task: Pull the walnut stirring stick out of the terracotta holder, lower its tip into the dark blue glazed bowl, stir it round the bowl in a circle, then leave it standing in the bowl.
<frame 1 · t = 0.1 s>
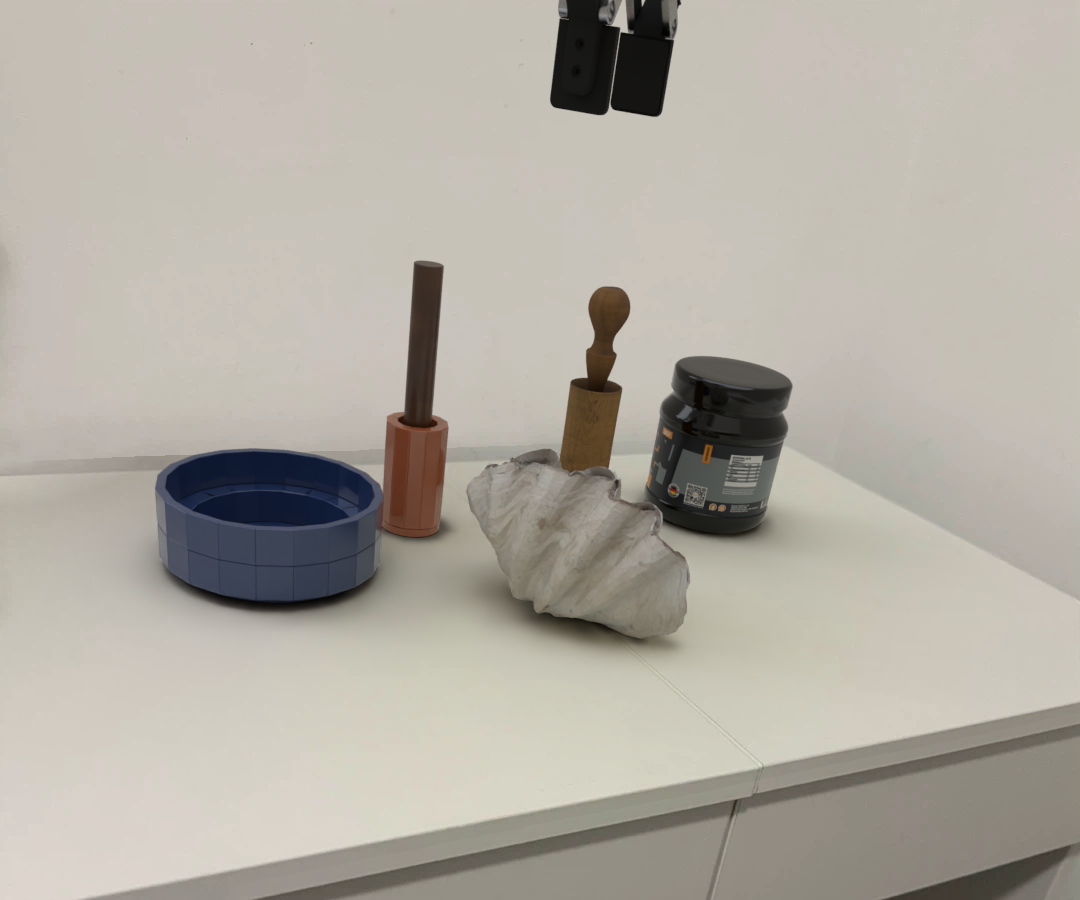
hand: (608, 112, 61), 29 cm above the table, tool pointing down, fingers open, 9 cm apart
bowl: (272, 563, 71), on the table
supplement container: (701, 515, 91), on the table
holder: (410, 525, 80), on the table
stick: (410, 517, 80), point 1 cm above the table, touching holder
mortar and pestle: (574, 526, 85), on the table
seashell: (563, 613, 71), on the table
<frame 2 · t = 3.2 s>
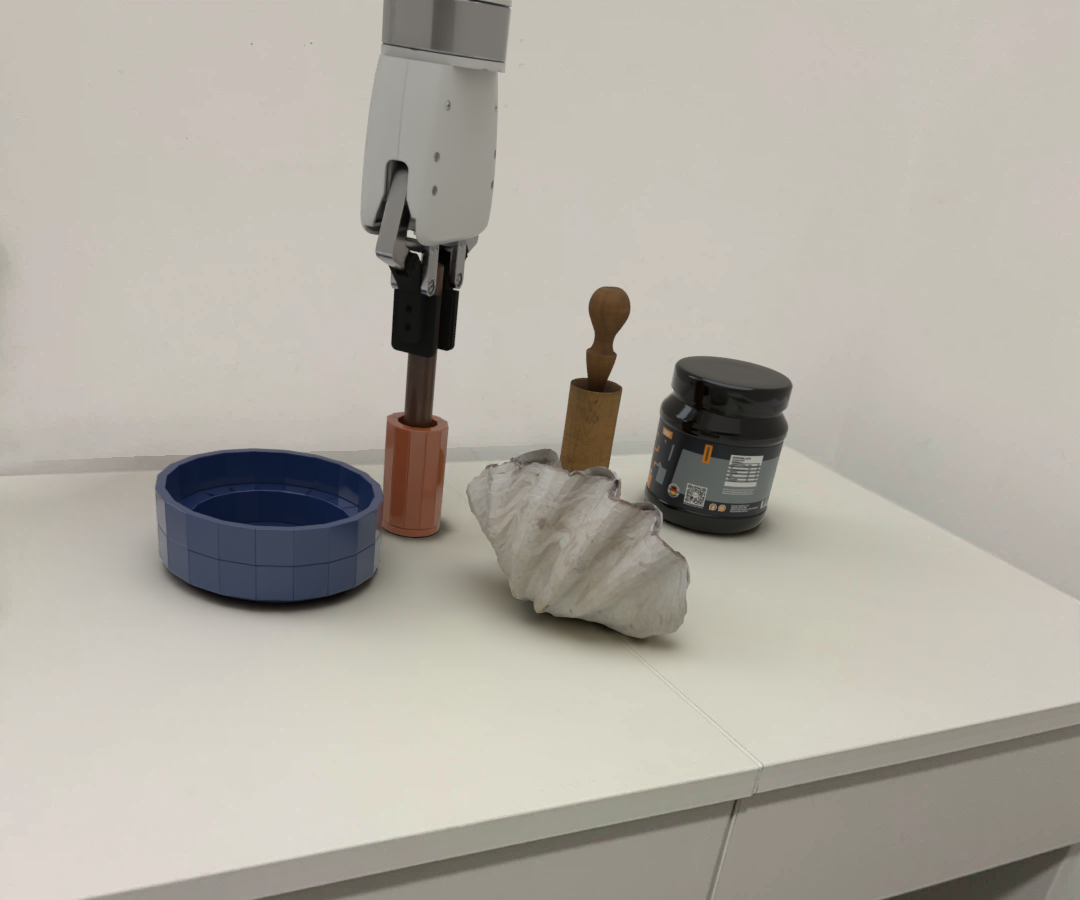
hand: (422, 347, 73), 13 cm above the table, tool pointing down, fingers closed on stick, 2 cm apart
stick: (410, 517, 80), point 1 cm above the table, touching gripper, holder
everything else where it was.
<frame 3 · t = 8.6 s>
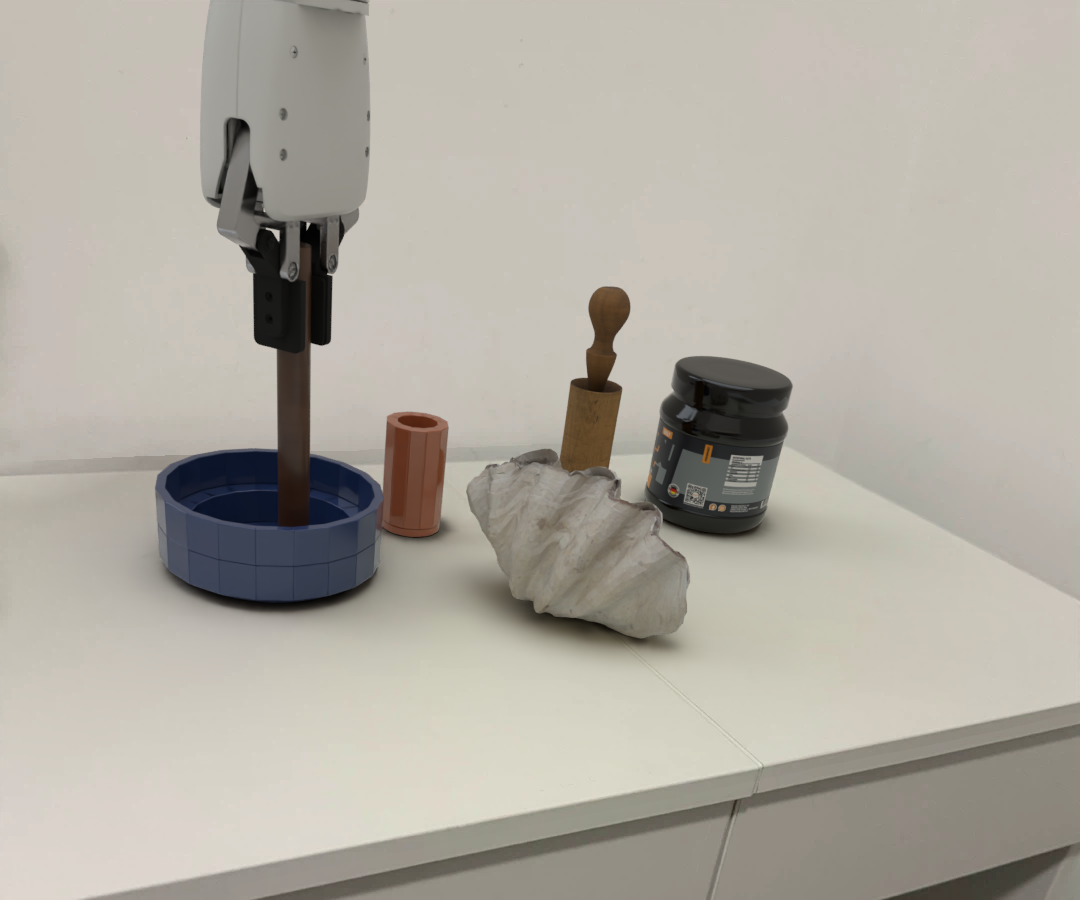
hand: (292, 341, 63), 15 cm above the table, tool pointing down, fingers closed on stick, 2 cm apart
stick: (294, 537, 70), point 2 cm above the table, touching gripper
everything else where it was.
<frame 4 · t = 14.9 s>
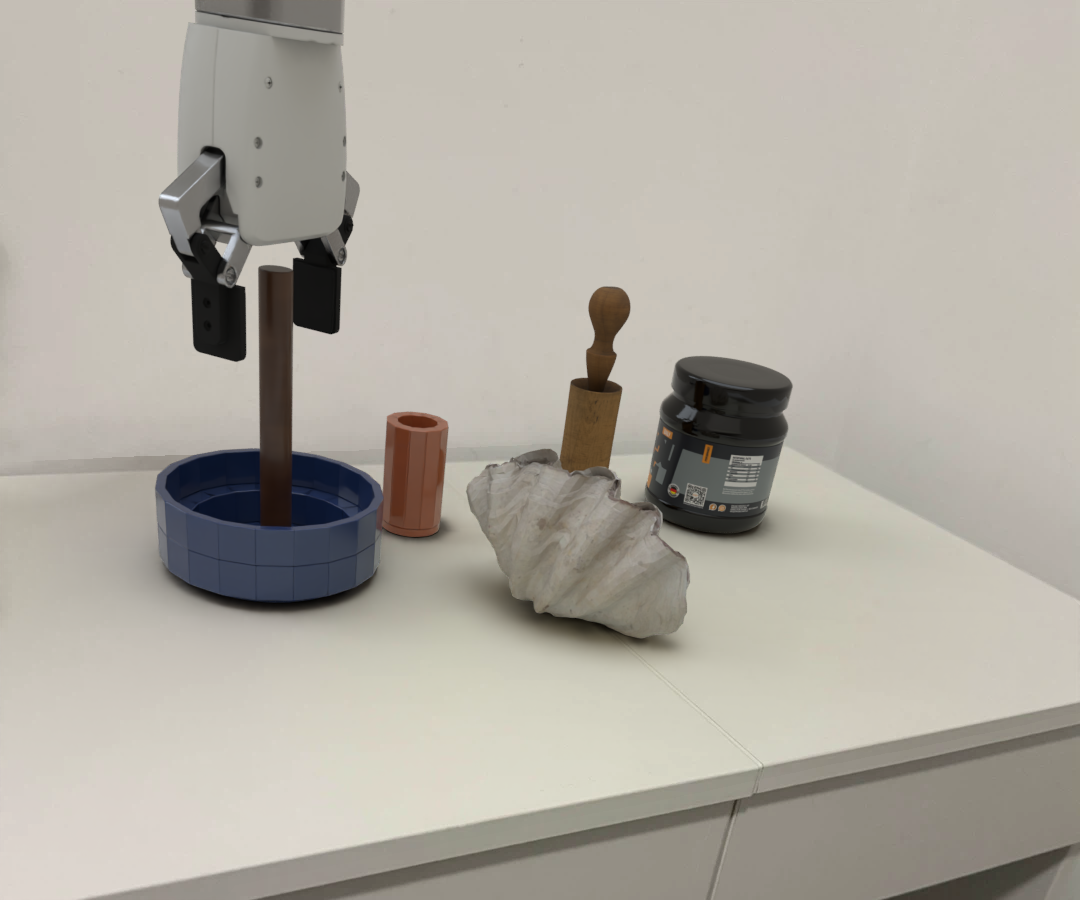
hand: (270, 341, 64), 15 cm above the table, tool pointing down, fingers open, 9 cm apart
stick: (276, 553, 71), point 1 cm above the table, touching bowl
everything else where it was.
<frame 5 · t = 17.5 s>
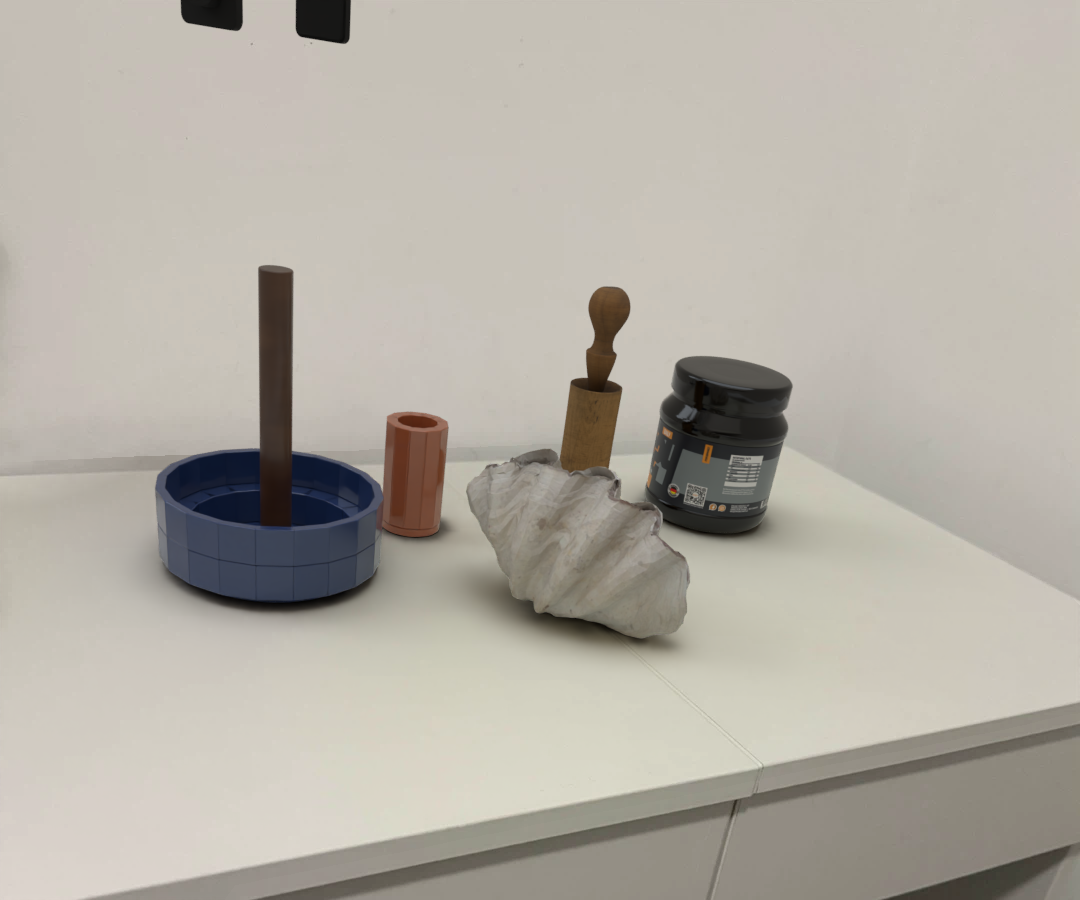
hand: (271, 34, 55), 30 cm above the table, tool pointing down, fingers open, 9 cm apart
nothing on the table moved.
at the end: stick inside the target area in the bowl (0.3 cm from its centre), point 0.8 cm above the bowl's base; stick moved 12.6 cm from its start; the gripper is holding nothing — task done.
